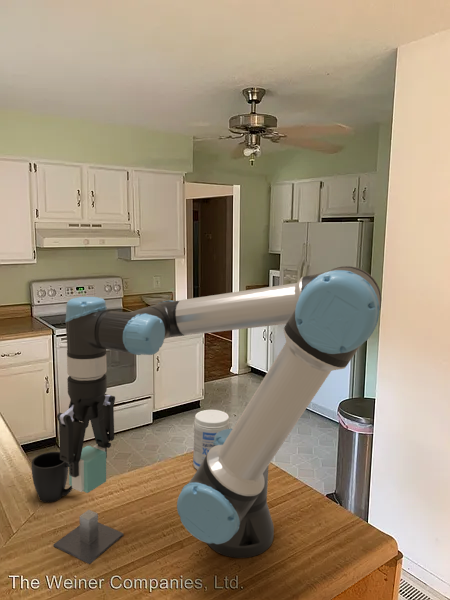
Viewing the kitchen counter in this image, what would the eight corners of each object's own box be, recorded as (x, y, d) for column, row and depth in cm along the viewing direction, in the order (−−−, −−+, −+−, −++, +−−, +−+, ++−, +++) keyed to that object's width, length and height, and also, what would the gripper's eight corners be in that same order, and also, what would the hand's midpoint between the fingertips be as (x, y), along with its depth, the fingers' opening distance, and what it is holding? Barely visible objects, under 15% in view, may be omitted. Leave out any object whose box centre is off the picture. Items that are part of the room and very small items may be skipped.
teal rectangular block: (106, 481, 98) (106, 452, 97) (87, 493, 94) (87, 462, 93) (88, 473, 101) (88, 445, 100) (69, 485, 97) (68, 455, 95)
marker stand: (123, 535, 101) (123, 509, 100) (89, 564, 92) (88, 536, 91) (89, 520, 105) (88, 495, 104) (53, 546, 97) (52, 519, 96)
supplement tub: (203, 478, 124) (204, 425, 122) (187, 462, 132) (187, 412, 130) (234, 469, 129) (236, 418, 127) (216, 454, 137) (218, 406, 135)
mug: (74, 509, 109) (73, 471, 108) (26, 504, 111) (24, 466, 109) (89, 489, 117) (88, 454, 116) (43, 485, 119) (42, 450, 117)
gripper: (106, 360, 103) (107, 459, 107) (35, 383, 88) (40, 498, 91) (132, 366, 100) (132, 468, 103) (63, 391, 84) (67, 510, 88)
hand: (89, 482), depth 97 cm, fingers closed on teal rectangular block, 5 cm apart
